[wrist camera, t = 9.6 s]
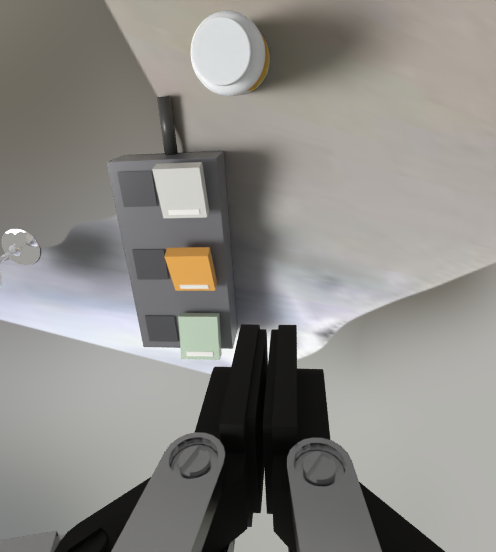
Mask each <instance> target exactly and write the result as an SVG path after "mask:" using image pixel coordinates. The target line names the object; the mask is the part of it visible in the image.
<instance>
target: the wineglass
mask: <svg viewBox="0 0 496 552" xmlns="http://www.w3.org/2000/svg"><path fill="white" fill-rule="evenodd" d="M2 247H3V249H4V251H5V253H6V254H4V255H2V256H0V264H1V262H2V261H3V260H5V259H6V258H8V257H9V258H10V259H11V260H13V261H14V262H16V263H18V264H21V265H31V264H34V263H35V262H36V261H37V260H38V259H39V257H40V247H39V244H38V242H37V241H36V239H35V238H34V237H33V236H32V235H31V234H30V233H29V232H27V231H25V230H22V229H19V228H13V229H9V230H8V231H6V232H5V233H4V235H3V237H2ZM1 285H2V274H1V271H0V288H1Z"/></svg>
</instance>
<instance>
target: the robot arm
mask: <svg viewBox="0 0 496 552" xmlns="http://www.w3.org/2000/svg"><path fill="white" fill-rule="evenodd" d="M264 467H265V486H266V505H267V513H268V514H273V526H274V532H275V533H276V534H277V535H278V536H279V537H280V539H281V540H282V541H283V542H284V543H285V544H286V545H287V546H288V552H445V551H444V550H442V549H441V548H440V547H438V546H437V545H436V544H435V543H434V542H432V541H431V540H430V539H429V538H428V537H426V536H425V535H424V534H422V533H421V532H420V531H419V530H418V529H417V528H415V527H414V526H413V525H412V524H410V523H409V522H408V521H407V520H405V519H404V518H403V517H402V516H401V515H399V514H398V513H397V512H396V511H394V510H393V509H392V508H391V507H389V506H388V505H387V504H386V503H385V502H383V501H382V500H381V499H380V498H378V497H377V496H376V495H375V494H373V493H372V492H371V491H370V490H368V489H367V488H366V487H365V486H364V485H362V484H361V483H360V482H359V481H358V478H357V475H356V472H355V469H354V466H353V463H352V460H351V458H350V457H349V455H348V453H347V452H346V451H345V450H344V449H343V448H342V447H341V446H340V445H338V444H337V443H335V442H333V441H331V440H330V432H329V422H328V412H327V402H326V392H325V382H324V373H323V369H297V328H296V325H279V326H278V330H271V340H270V351H269V361H268V357H267V333H266V329H260V326H259V325H245V324H242V325H241V327H240V332H239V336H238V341H237V345H236V350H235V354H234V358H233V363H232V367H214V369H213V371H212V374H211V378H210V381H209V385H208V388H207V392H206V395H205V399H204V402H203V405H202V409H201V412H200V416H199V419H198V423H197V426H196V430H195V433H190V434H186V435H184V436H182V437H180V438H178V439H176V440H175V441H174V442H173V443H171V444H170V446H169V447H168V448H167V450H166V451H165V452H164V454H163V456H162V458H161V460H160V462H159V464H158V466H157V467H156V469H155V471H154V473H153V475H152V477H150V478H149V479H147V480H146V481H144V482H143V483H141V484H139V485H138V486H136V487H135V488H133V489H132V490H130V491H128V492H127V493H125V494H124V495H122V496H121V497H119V498H118V499H116V500H114V501H113V502H111V503H110V504H108V505H107V506H105V507H104V508H102V509H100V510H99V511H97V512H96V513H94V514H93V515H91V516H90V517H88V518H86V519H85V520H83V521H82V522H80V523H79V524H77V525H76V526H75V527H73V528H72V529H71V530H70V531H68V532H67V534H66V535H60V536H59V535H58V533H57V531H53V532H47V533H41V534H34V535H28V536H23V537H17V538H10V539H5V540H0V552H233V551H234V544H235V538H237V537H238V536H239V535H240V534H242V533H243V532H244V531H245V530H246V529H247V527H252V517H253V513H260V512H261V502H262V490H263V478H264Z"/></svg>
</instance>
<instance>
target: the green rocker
mask: <svg viewBox="0 0 496 552" xmlns="http://www.w3.org/2000/svg"><path fill="white" fill-rule="evenodd" d="M178 321H179V334H180V347H181V359H214V360H219V359H220V357H221V355H222V354H221V334H220V314H219V313H181V314H180V315H179V316H178Z"/></svg>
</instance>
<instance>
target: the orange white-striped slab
mask: <svg viewBox="0 0 496 552" xmlns="http://www.w3.org/2000/svg"><path fill="white" fill-rule="evenodd" d="M164 257H165V260H166V263H167V266H168V269H169V272H170V275H171V278H172V281H173V284H174V287H175V290H176V291H215V290H216V285H217V279H216V274H215V270H214V265H213V260H212V255H211V251H210V247H186V248H167V250H166V253H165V256H164Z"/></svg>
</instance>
